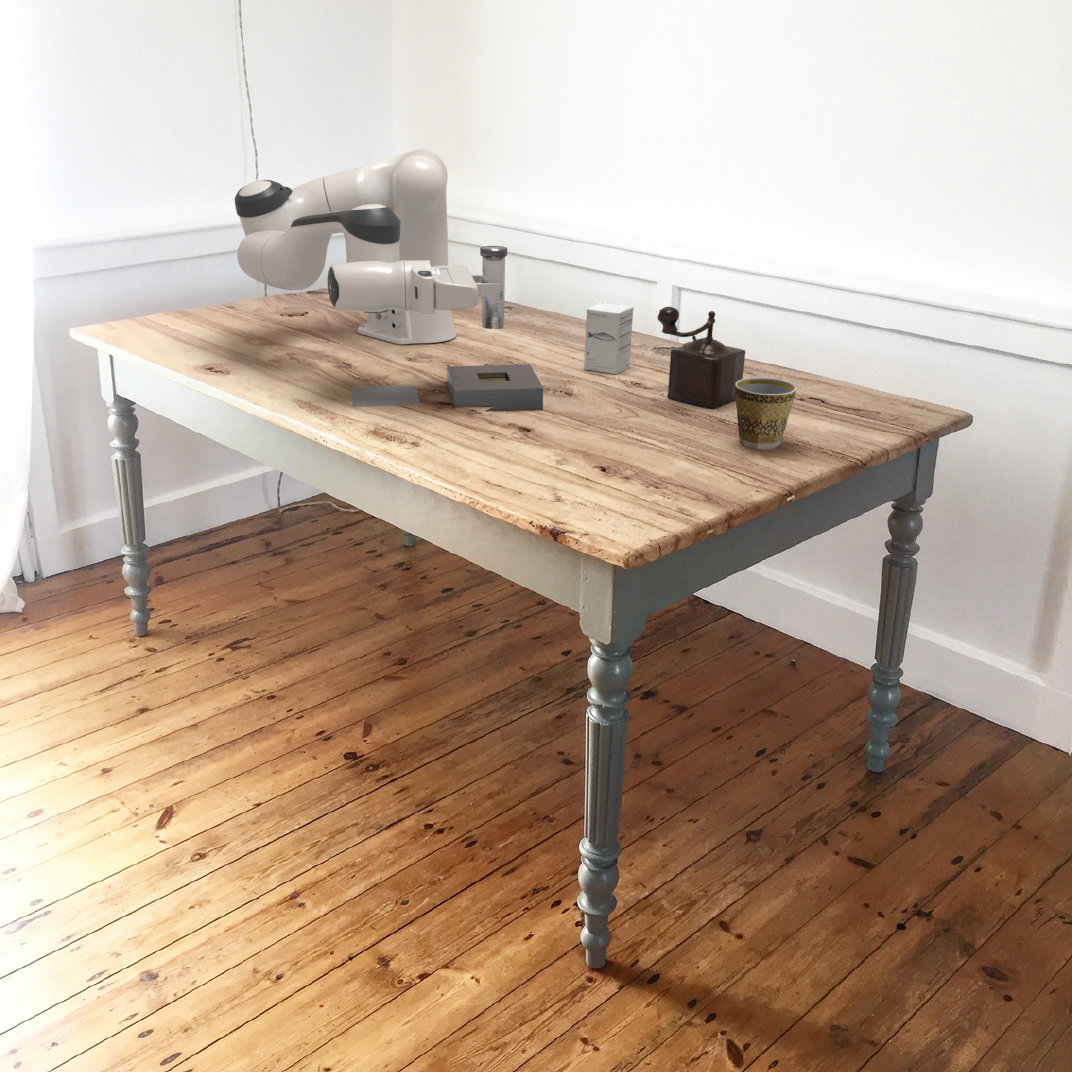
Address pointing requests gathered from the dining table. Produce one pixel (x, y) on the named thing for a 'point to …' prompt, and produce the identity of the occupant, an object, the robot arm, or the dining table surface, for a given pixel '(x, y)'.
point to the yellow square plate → (493, 379)
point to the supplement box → (608, 338)
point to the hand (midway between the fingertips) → (498, 284)
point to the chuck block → (495, 387)
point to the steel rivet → (493, 273)
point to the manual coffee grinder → (701, 365)
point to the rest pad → (384, 396)
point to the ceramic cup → (763, 411)
